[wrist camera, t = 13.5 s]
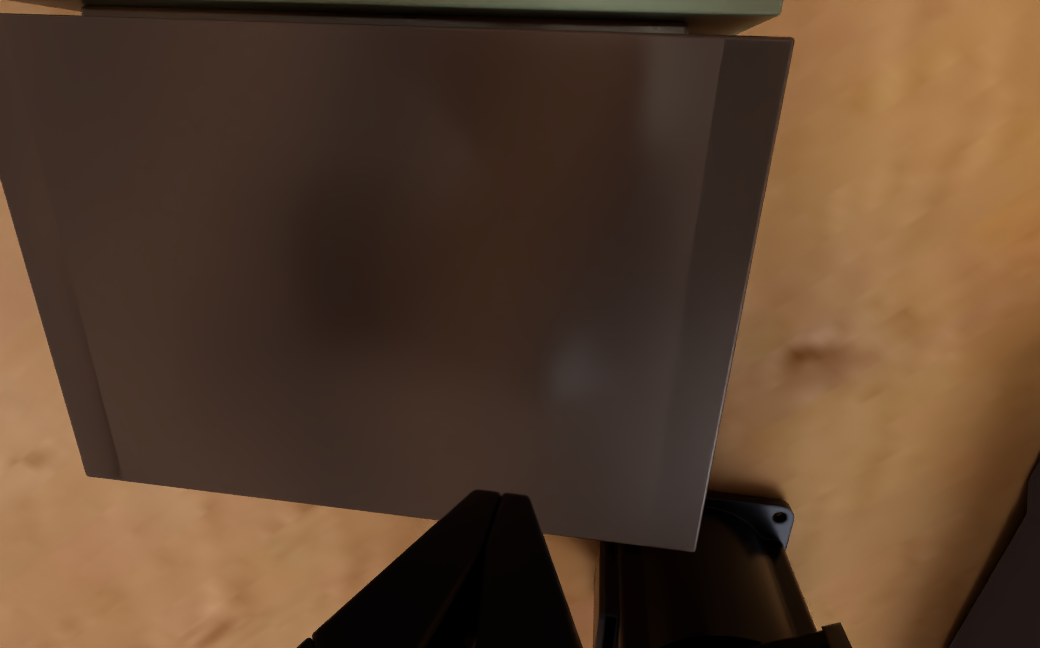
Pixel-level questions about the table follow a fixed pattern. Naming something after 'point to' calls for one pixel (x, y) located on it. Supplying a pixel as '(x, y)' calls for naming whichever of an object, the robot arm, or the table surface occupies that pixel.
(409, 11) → the drawer
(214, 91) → the drawer unit
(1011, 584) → the calculator
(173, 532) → the table surface
